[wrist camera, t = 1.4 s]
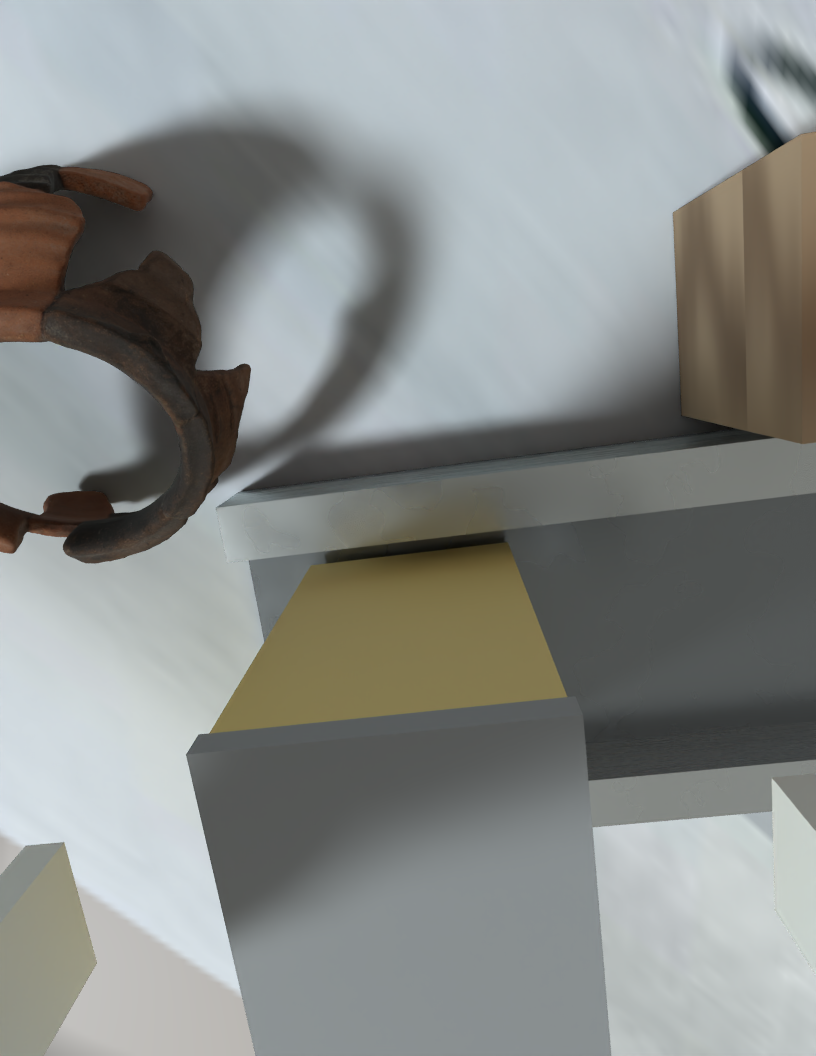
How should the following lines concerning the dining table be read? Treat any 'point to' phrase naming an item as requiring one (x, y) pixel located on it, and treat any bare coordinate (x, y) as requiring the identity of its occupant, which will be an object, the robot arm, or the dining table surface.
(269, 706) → the carriage
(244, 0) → the dining table surface
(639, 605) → the track
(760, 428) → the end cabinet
